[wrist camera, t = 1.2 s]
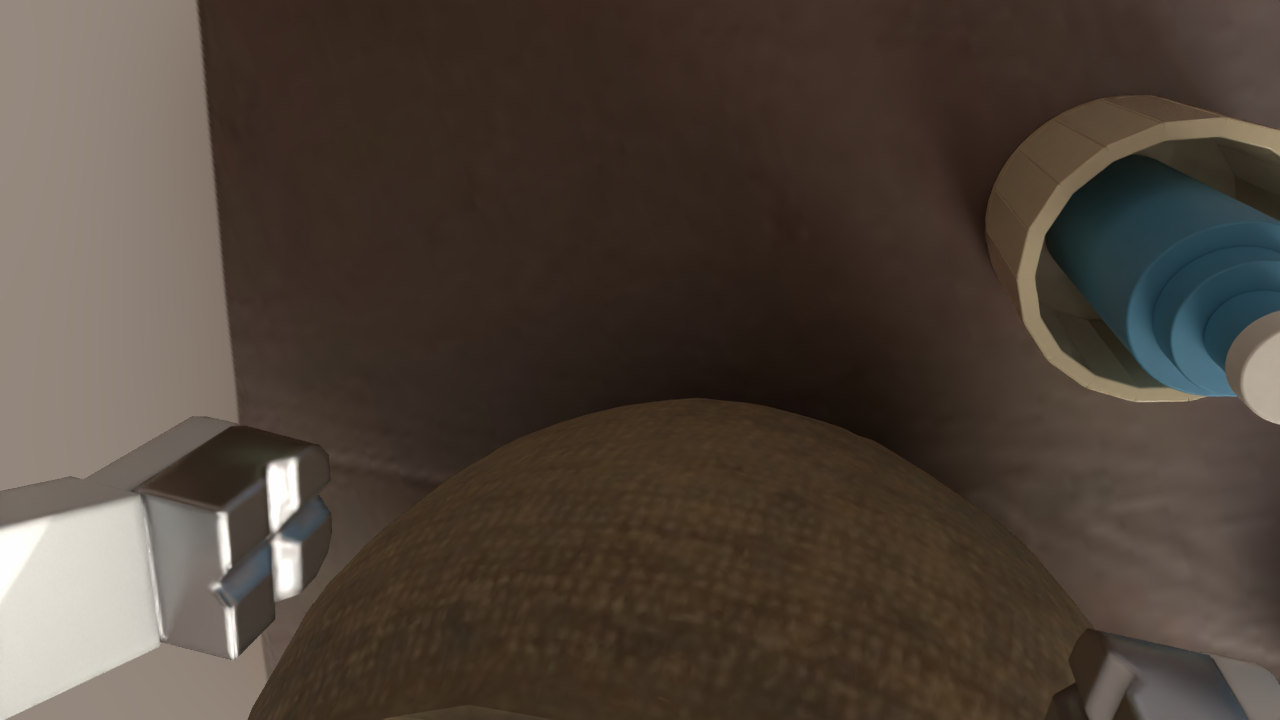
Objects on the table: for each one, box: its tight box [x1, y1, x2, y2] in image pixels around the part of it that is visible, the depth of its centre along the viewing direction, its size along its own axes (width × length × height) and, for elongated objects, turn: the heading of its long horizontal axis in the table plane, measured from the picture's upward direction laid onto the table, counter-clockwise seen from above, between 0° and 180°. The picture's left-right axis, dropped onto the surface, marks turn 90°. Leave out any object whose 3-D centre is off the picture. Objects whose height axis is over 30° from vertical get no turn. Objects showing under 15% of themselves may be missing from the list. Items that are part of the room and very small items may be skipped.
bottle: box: [1045, 154, 1280, 424], centre depth 27 cm, size 5×5×16 cm
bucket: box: [985, 95, 1280, 402], centre depth 31 cm, size 10×10×8 cm
